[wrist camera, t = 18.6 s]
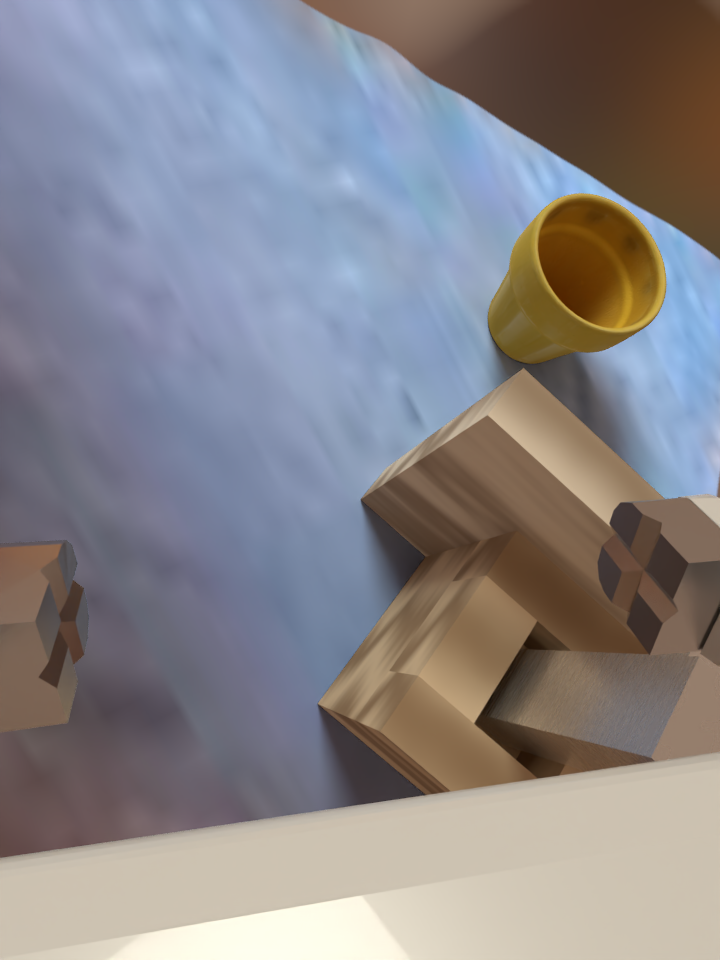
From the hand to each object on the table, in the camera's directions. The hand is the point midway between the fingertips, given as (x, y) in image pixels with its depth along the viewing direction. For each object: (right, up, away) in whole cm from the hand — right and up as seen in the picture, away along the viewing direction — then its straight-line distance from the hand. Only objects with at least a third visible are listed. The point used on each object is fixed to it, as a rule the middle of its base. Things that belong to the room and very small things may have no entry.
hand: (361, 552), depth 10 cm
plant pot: (+13, +13, +41) cm, 45 cm away
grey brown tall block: (+8, -11, +25) cm, 28 cm away
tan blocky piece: (+6, -11, +33) cm, 35 cm away
